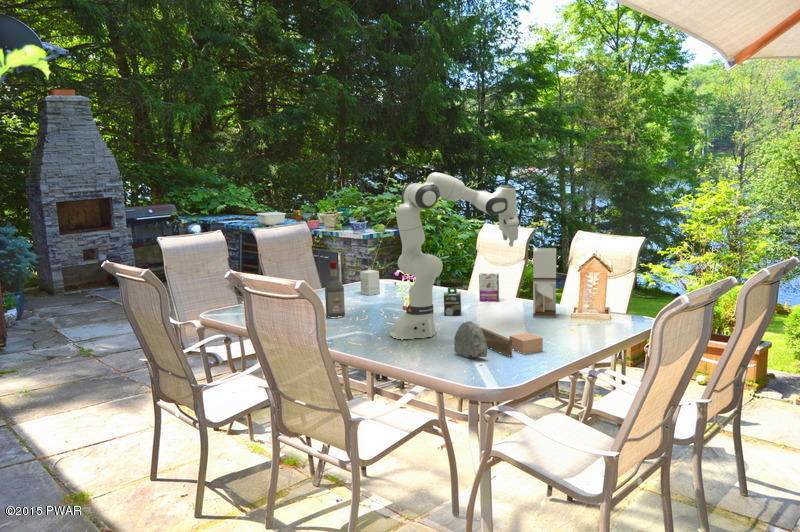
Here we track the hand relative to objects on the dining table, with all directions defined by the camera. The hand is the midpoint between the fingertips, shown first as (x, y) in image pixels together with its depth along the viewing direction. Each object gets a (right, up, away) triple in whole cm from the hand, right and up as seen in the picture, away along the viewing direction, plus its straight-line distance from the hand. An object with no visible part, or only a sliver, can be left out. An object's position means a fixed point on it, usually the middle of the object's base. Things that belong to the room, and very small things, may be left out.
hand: (508, 242), depth 317 cm
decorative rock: (-25, -50, -54) cm, 78 cm away
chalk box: (-26, -38, +24) cm, 52 cm away
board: (-14, -48, -45) cm, 67 cm away
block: (0, -48, -47) cm, 67 cm away
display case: (+22, -38, +14) cm, 46 cm away
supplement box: (-74, -30, +86) cm, 117 cm away
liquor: (-90, -39, +26) cm, 102 cm away
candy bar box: (-2, -32, +54) cm, 63 cm away
